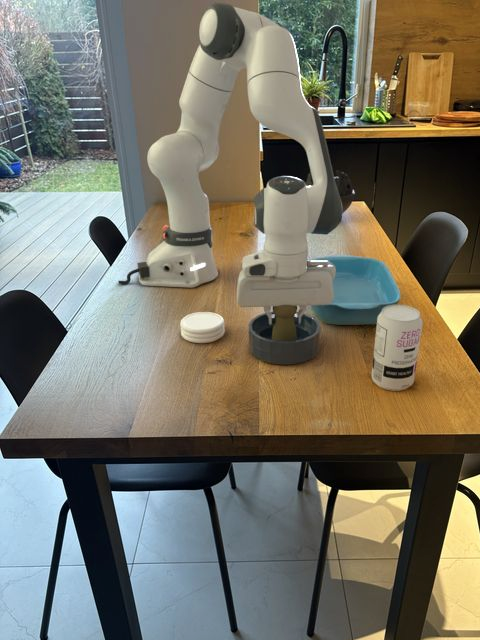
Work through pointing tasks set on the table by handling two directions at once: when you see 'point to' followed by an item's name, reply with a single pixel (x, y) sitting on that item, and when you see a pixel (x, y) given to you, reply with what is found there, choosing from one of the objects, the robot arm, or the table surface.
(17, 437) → the table surface
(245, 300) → the robot arm
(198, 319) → the coaster
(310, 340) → the bowl
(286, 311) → the olive pawn
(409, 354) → the supplement can
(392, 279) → the casserole dish
